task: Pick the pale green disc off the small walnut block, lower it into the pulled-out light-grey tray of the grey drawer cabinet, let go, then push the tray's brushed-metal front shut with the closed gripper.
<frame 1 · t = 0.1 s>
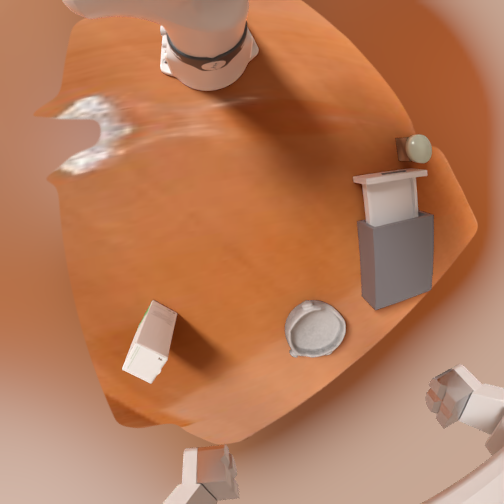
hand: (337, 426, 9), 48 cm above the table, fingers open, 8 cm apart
skincare box: (158, 319, 60), on the table
grey drawer cabinet: (389, 252, 60), on the table
pale green disc: (416, 148, 50), point 4 cm above the table, touching walnut block
tray: (395, 214, 54), point 3 cm above the table, slide at 8.0 cm
dish: (311, 324, 64), on the table
walnut block: (405, 148, 53), on the table
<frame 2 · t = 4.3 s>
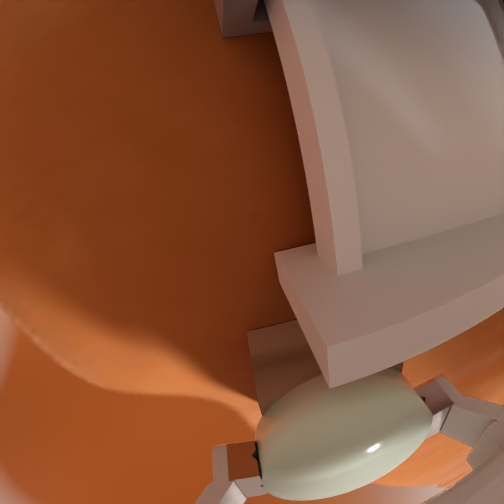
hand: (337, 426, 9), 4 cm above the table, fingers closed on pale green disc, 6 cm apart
pale green disc: (336, 423, 9), point 4 cm above the table, touching gripper, walnut block
tray: (452, 30, 6), point 3 cm above the table, slide at 8.0 cm
walnut block: (309, 360, 13), on the table
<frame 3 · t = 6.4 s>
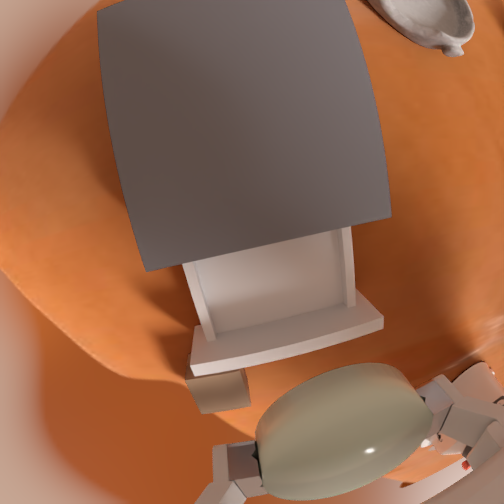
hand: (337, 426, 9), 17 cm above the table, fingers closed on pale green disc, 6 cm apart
grey drawer cabinet: (237, 112, 21), on the table
pale green disc: (336, 423, 9), point 17 cm above the table, touching gripper
tray: (267, 236, 21), point 3 cm above the table, slide at 8.0 cm
walnut block: (218, 367, 28), on the table
when the fingers open (4 cm above the table, at t = 8.4 s): pale green disc drops 2 cm, resting on tray.
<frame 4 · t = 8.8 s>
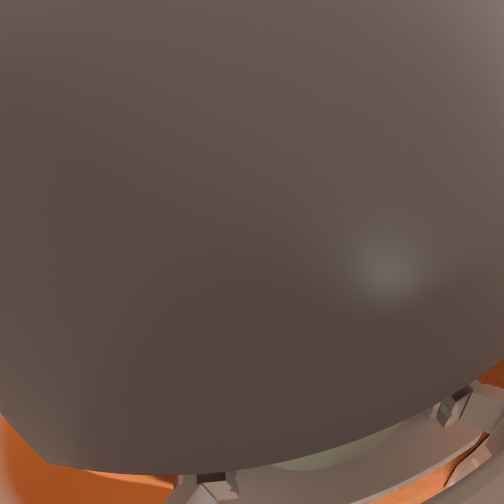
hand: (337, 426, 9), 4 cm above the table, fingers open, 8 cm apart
grey drawer cabinet: (254, 52, 8), on the table
pale green disc: (326, 395, 10), point 2 cm above the table, touching tray
tray: (327, 348, 8), point 3 cm above the table, slide at 8.0 cm, touching pale green disc
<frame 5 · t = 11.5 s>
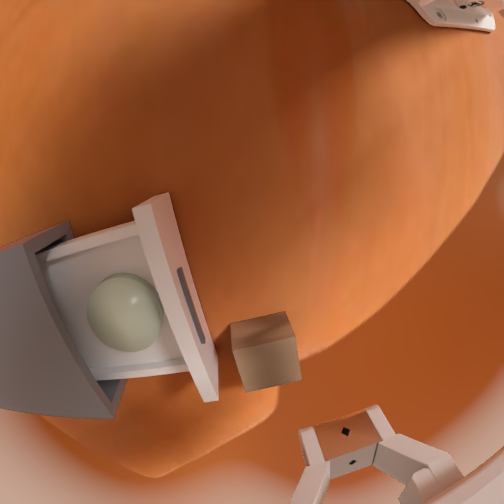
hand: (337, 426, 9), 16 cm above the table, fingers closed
grey drawer cabinet: (35, 315, 23), on the table
pale green disc: (128, 307, 21), point 2 cm above the table, touching tray
tray: (91, 319, 20), point 3 cm above the table, slide at 8.0 cm, touching pale green disc
walnut block: (262, 339, 26), on the table
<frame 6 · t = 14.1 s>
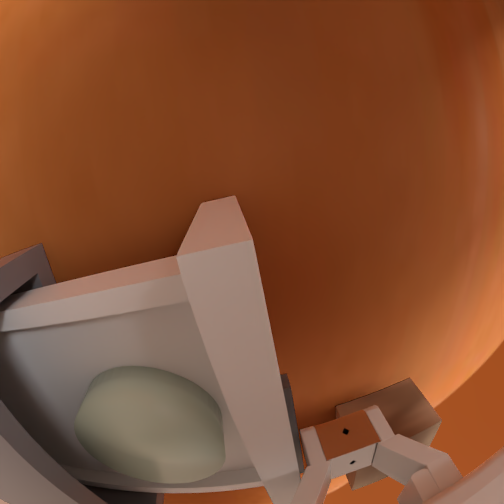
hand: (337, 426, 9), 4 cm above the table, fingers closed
grey drawer cabinet: (9, 386, 12), on the table
pale green disc: (152, 416, 10), point 2 cm above the table, touching tray
tray: (86, 431, 9), point 3 cm above the table, slide at 6.9 cm, touching pale green disc, gripper
walnut block: (371, 415, 15), on the table
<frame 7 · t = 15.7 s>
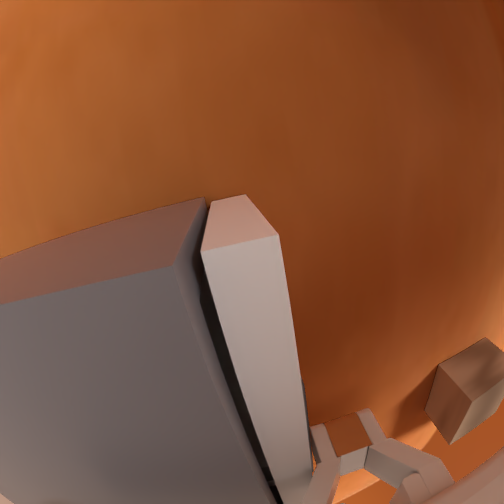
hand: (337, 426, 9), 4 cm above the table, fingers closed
grey drawer cabinet: (85, 390, 12), on the table
tray: (92, 433, 9), point 3 cm above the table, slide at -0.1 cm, touching pale green disc, gripper
walnut block: (456, 375, 15), on the table
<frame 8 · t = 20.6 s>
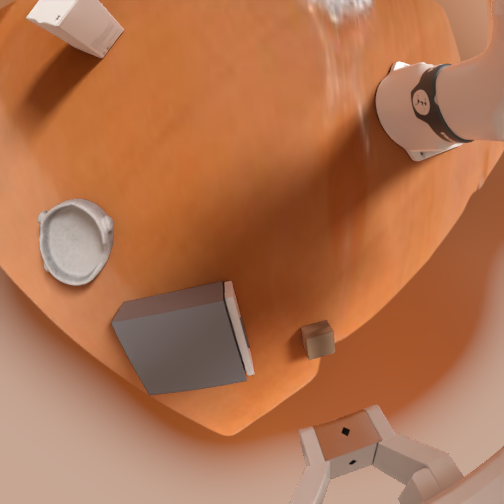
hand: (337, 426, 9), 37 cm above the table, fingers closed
skincare box: (97, 39, 32), on the table
grey drawer cabinet: (184, 331, 49), on the table
tray: (191, 339, 46), point 3 cm above the table, slide at 0.0 cm, touching pale green disc
dish: (80, 236, 42), on the table
walnut block: (315, 334, 52), on the table
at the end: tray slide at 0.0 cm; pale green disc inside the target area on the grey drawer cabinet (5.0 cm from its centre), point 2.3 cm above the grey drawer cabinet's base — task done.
